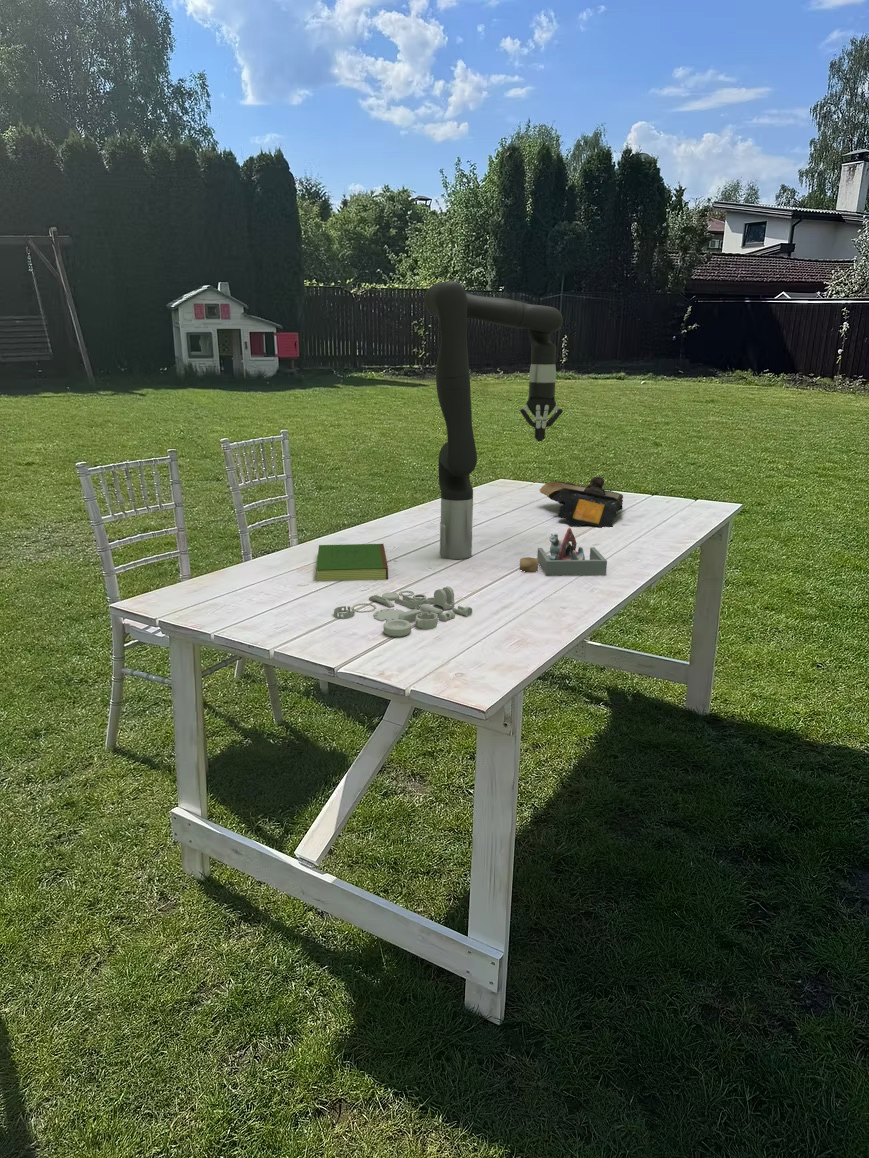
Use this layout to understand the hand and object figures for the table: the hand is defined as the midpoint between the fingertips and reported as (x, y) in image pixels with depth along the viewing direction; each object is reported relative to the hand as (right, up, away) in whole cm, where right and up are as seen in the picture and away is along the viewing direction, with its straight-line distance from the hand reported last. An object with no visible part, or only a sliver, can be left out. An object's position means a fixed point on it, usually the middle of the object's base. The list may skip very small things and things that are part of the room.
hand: (539, 440), depth 231 cm
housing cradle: (+7, -37, -12) cm, 40 cm away
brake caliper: (+6, -37, -10) cm, 39 cm away
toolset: (+21, -18, +51) cm, 58 cm away
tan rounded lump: (-5, -38, -14) cm, 41 cm away
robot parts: (-39, -50, -47) cm, 79 cm away
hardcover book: (-54, -38, -12) cm, 67 cm away
